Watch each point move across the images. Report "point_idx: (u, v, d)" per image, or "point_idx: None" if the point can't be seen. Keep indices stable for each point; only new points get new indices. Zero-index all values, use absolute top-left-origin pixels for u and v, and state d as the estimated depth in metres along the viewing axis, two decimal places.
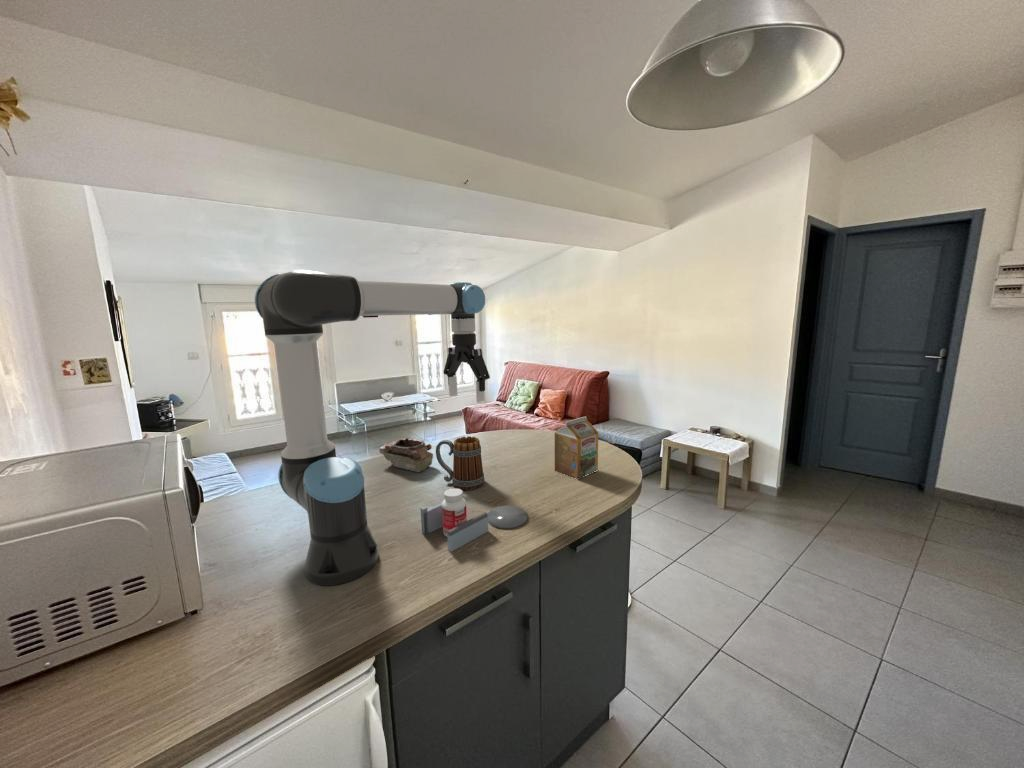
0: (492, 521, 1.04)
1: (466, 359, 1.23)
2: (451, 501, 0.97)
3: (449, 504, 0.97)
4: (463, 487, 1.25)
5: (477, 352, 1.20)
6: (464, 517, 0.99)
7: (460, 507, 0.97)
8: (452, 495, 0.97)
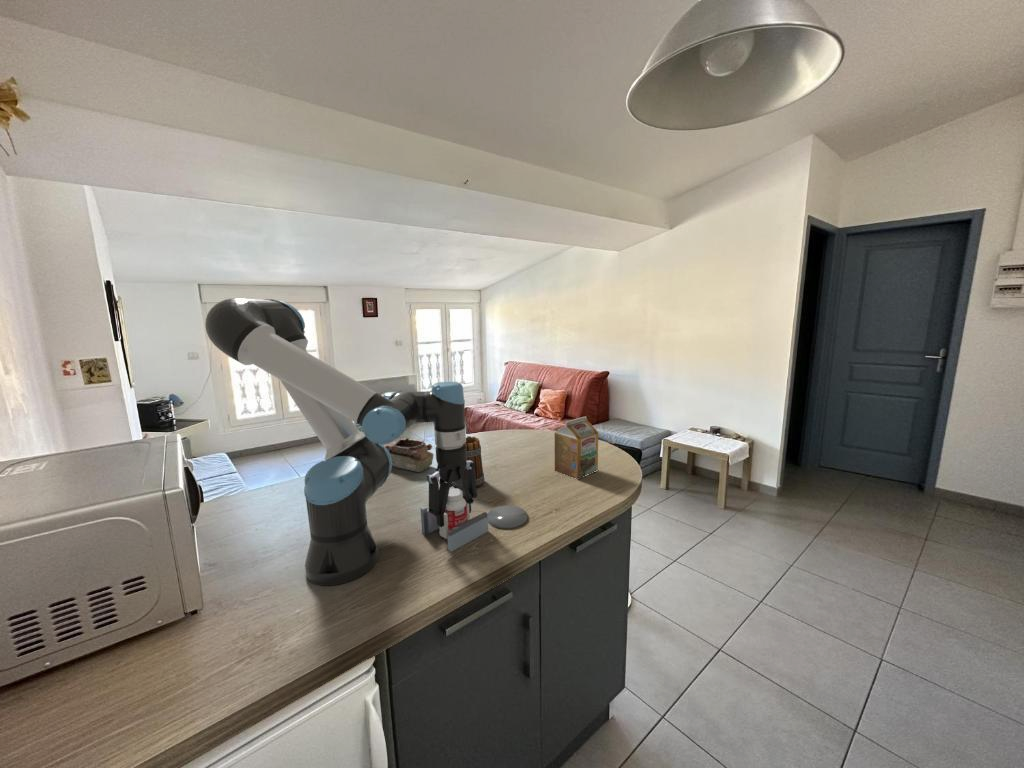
0: (492, 521, 1.04)
1: None
2: (451, 501, 0.97)
3: (449, 504, 0.97)
4: None
5: (428, 480, 0.94)
6: (464, 517, 0.99)
7: (460, 507, 0.97)
8: (452, 495, 0.97)
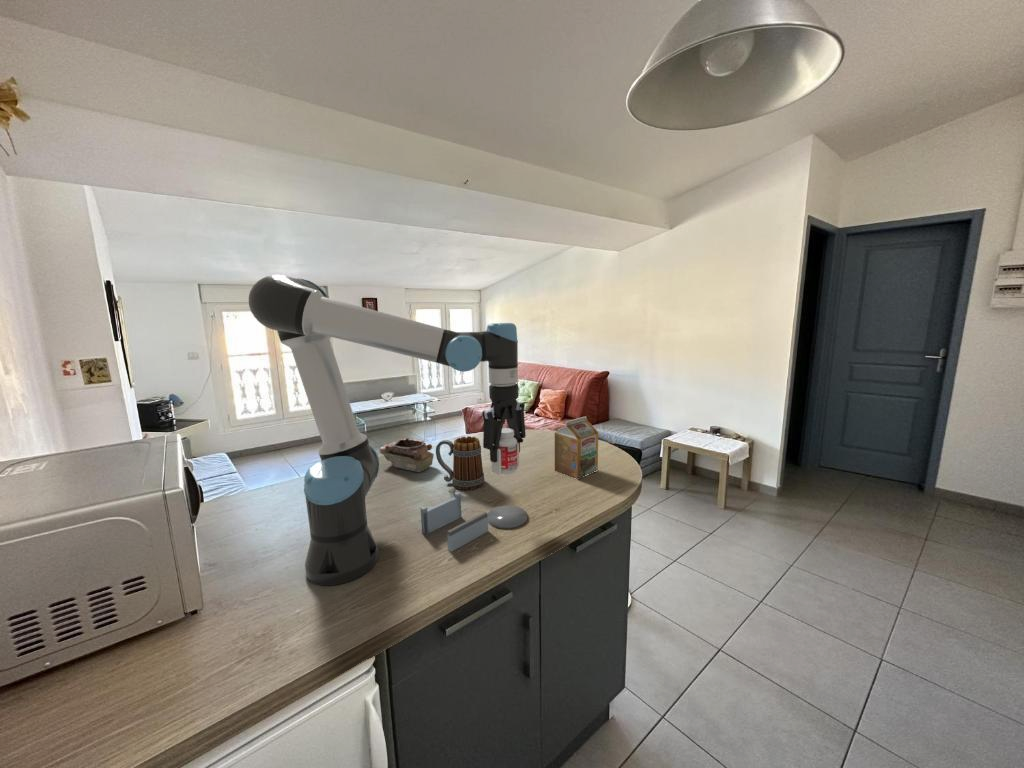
0: (492, 521, 1.04)
1: None
2: (504, 437, 1.01)
3: (502, 441, 1.01)
4: (463, 487, 1.25)
5: (484, 415, 0.98)
6: (516, 454, 1.03)
7: (513, 443, 1.01)
8: (504, 432, 1.01)
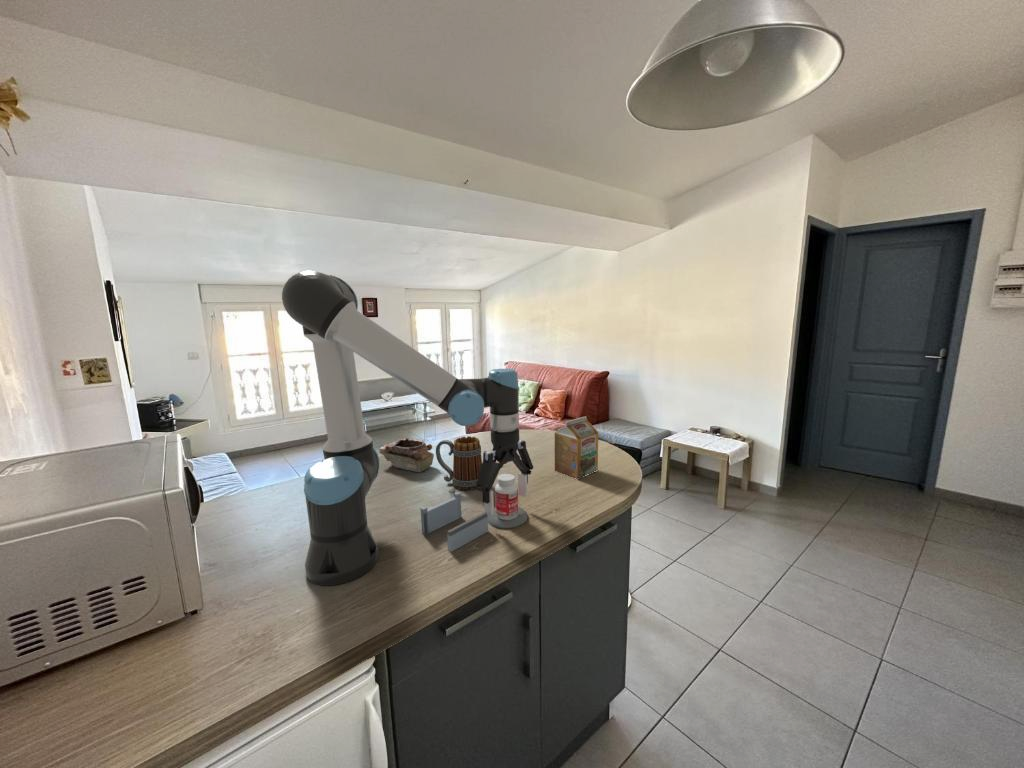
0: (492, 521, 1.04)
1: None
2: (505, 485, 1.03)
3: (503, 488, 1.04)
4: (463, 487, 1.25)
5: (484, 456, 0.99)
6: (516, 500, 1.05)
7: (513, 490, 1.04)
8: (505, 479, 1.04)
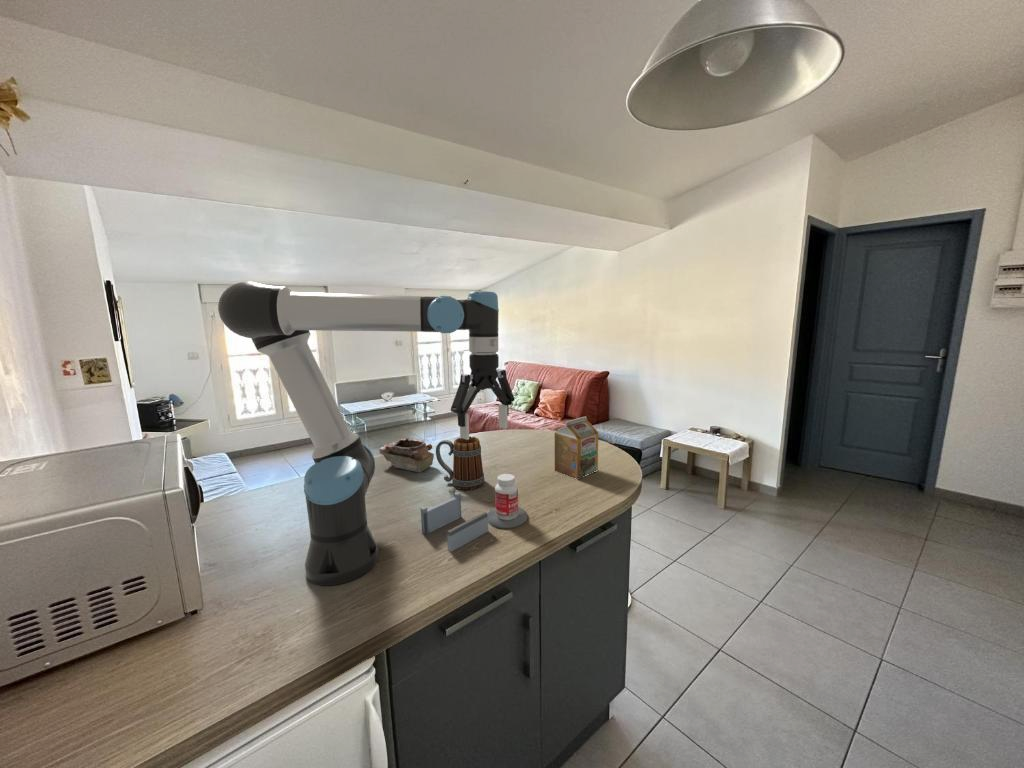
0: (492, 521, 1.04)
1: None
2: (505, 485, 1.03)
3: (503, 488, 1.03)
4: (463, 487, 1.25)
5: (461, 378, 0.98)
6: (516, 500, 1.05)
7: (513, 490, 1.04)
8: (505, 479, 1.04)
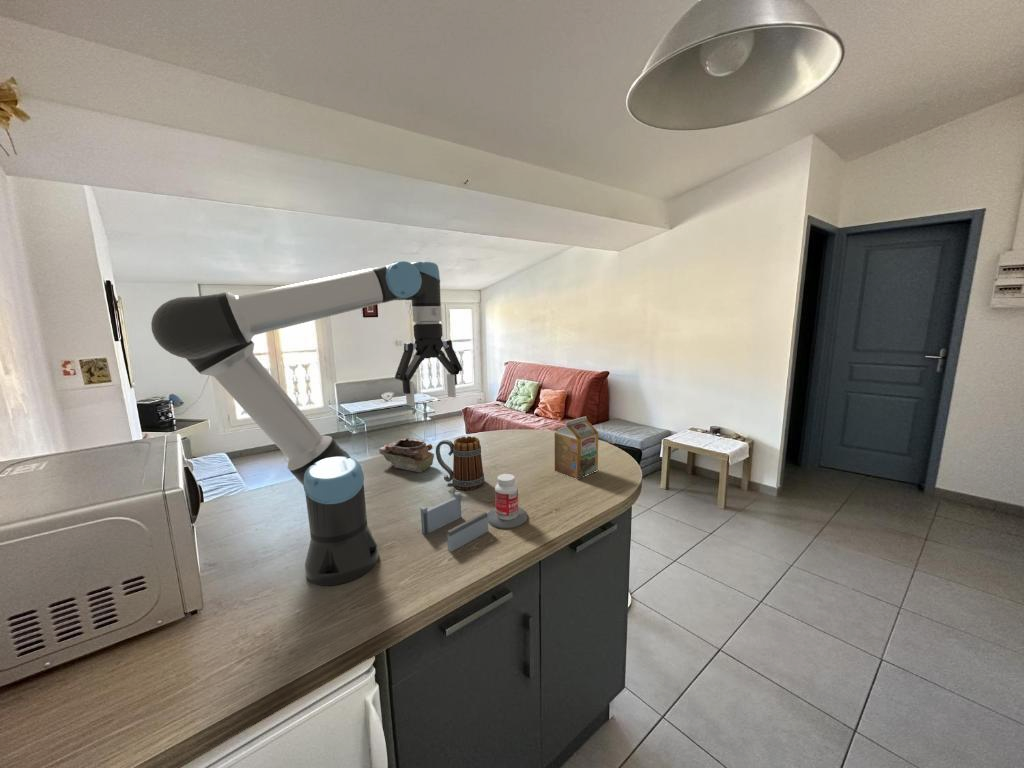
0: (492, 521, 1.04)
1: None
2: (505, 485, 1.03)
3: (503, 488, 1.03)
4: (463, 487, 1.25)
5: (405, 346, 1.01)
6: (516, 500, 1.05)
7: (513, 490, 1.04)
8: (505, 479, 1.04)
